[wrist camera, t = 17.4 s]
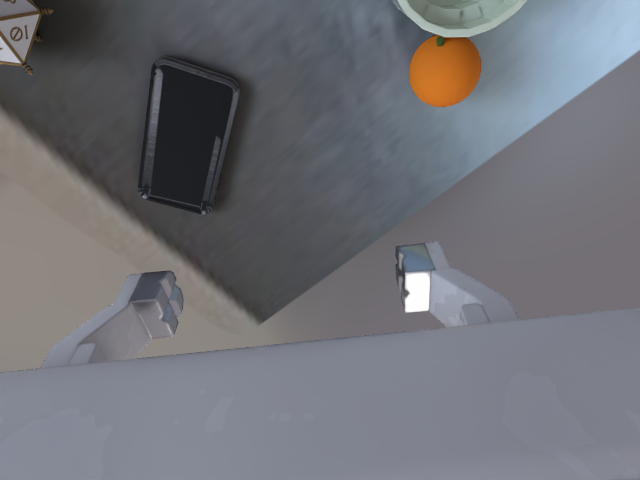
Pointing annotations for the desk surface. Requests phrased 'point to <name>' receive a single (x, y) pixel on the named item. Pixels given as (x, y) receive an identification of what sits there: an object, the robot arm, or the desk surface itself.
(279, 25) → the desk surface
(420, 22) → the bowl
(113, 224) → the desk surface
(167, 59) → the phone
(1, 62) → the game die
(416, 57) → the orange
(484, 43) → the desk surface
